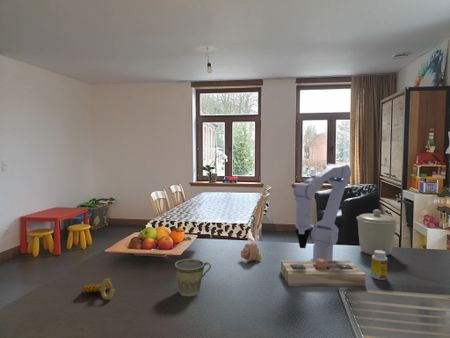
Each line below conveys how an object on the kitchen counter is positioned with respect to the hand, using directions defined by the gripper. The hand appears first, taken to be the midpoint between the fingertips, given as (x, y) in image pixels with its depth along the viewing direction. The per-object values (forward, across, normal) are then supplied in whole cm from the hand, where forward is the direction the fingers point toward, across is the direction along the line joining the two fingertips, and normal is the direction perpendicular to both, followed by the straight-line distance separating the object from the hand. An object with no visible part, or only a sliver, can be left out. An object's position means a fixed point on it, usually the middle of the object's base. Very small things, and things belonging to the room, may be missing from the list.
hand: (302, 247), depth 130 cm
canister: (+11, +38, -31) cm, 50 cm away
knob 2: (+9, +1, -16) cm, 18 cm away
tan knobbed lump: (+11, +6, +23) cm, 26 cm away
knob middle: (+7, -3, -7) cm, 10 cm away
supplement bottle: (+11, +6, -29) cm, 31 cm away
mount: (+10, -3, -7) cm, 13 cm away
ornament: (+11, -42, +62) cm, 76 cm away
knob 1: (+9, -6, +1) cm, 11 cm away
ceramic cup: (+11, -30, +34) cm, 46 cm away
